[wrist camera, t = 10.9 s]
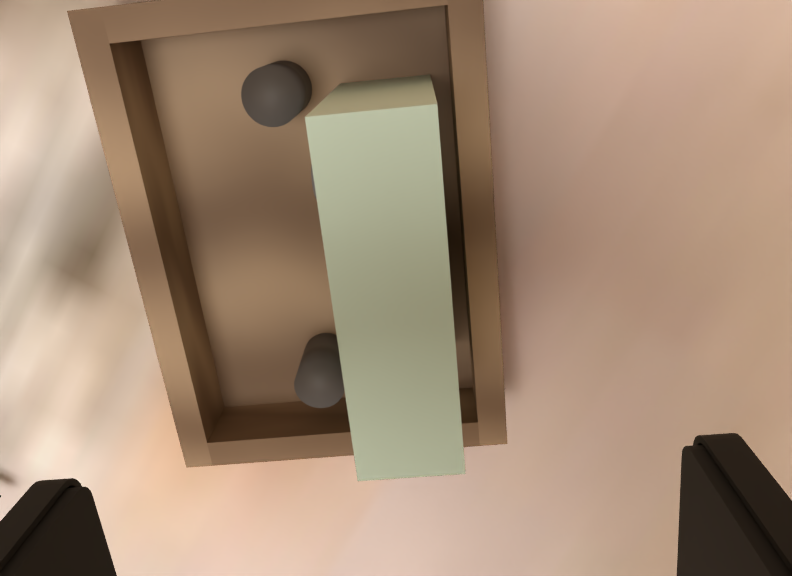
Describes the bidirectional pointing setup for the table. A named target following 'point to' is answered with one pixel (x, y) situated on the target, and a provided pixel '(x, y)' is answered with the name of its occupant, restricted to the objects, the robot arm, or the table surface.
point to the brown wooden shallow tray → (278, 203)
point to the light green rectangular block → (389, 273)
